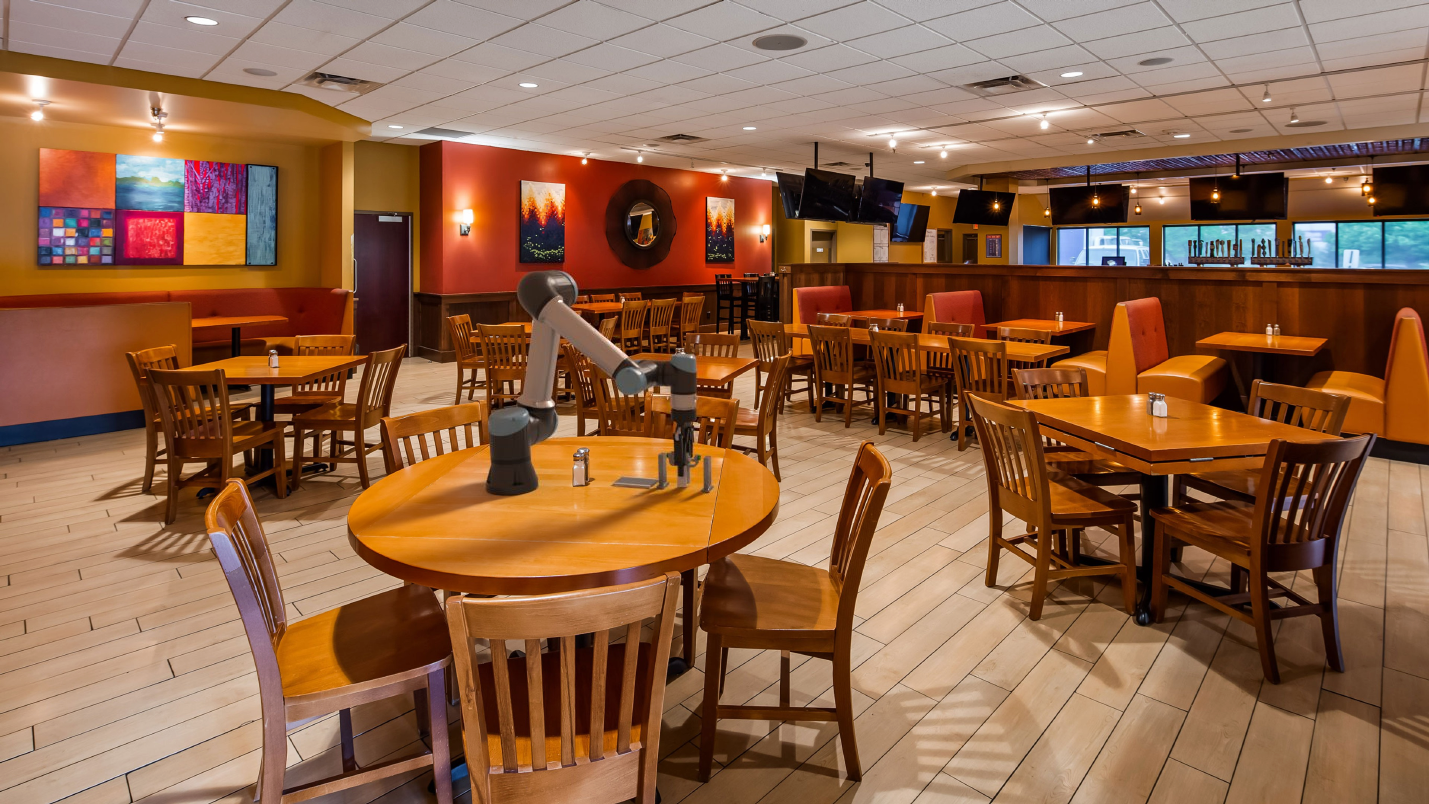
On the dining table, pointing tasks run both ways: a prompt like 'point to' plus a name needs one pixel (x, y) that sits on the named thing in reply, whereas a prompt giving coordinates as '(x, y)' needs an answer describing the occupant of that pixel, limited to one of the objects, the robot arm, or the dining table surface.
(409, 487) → the dining table surface
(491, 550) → the dining table surface
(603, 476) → the dining table surface
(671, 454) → the mechanical component
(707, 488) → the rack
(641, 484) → the mat
